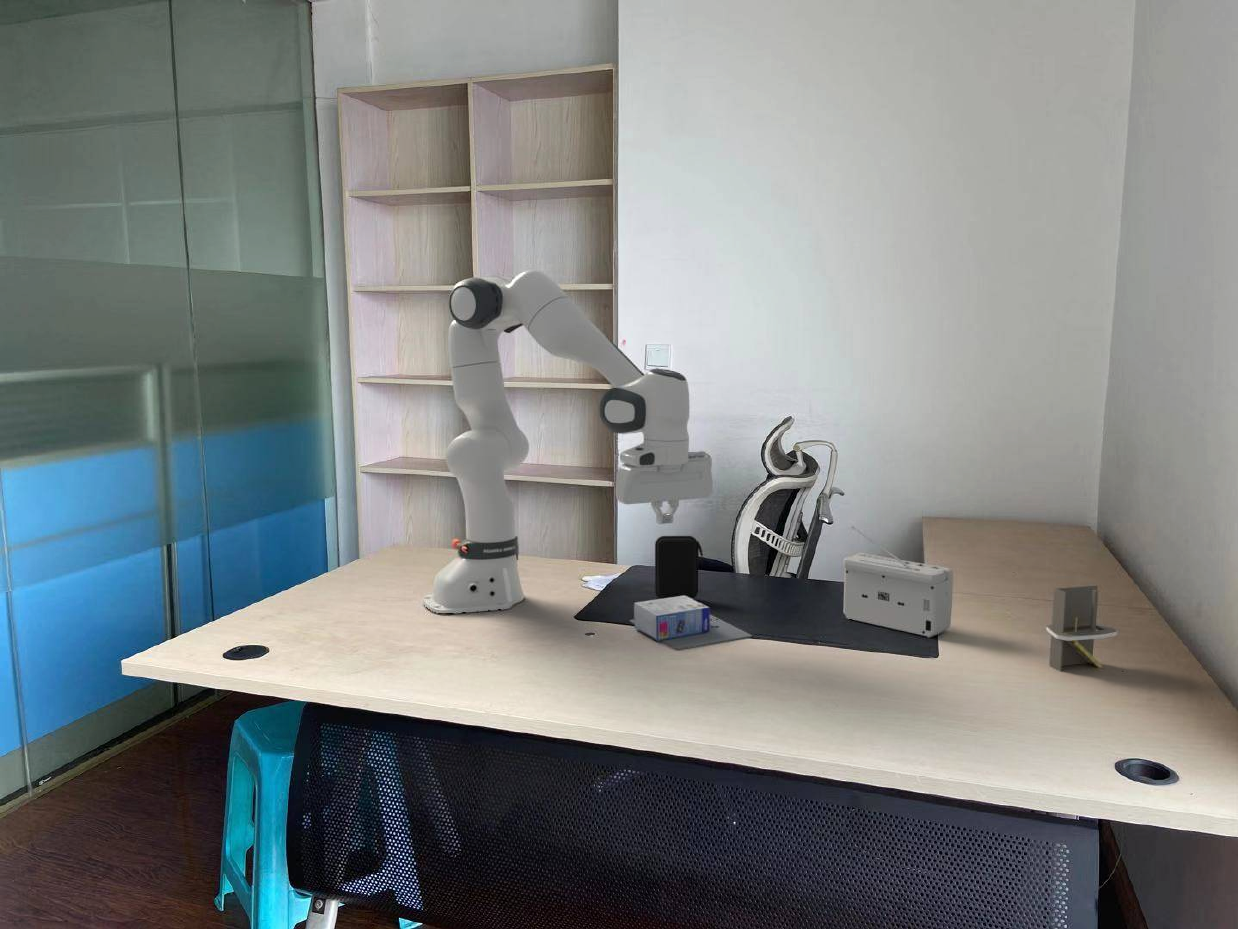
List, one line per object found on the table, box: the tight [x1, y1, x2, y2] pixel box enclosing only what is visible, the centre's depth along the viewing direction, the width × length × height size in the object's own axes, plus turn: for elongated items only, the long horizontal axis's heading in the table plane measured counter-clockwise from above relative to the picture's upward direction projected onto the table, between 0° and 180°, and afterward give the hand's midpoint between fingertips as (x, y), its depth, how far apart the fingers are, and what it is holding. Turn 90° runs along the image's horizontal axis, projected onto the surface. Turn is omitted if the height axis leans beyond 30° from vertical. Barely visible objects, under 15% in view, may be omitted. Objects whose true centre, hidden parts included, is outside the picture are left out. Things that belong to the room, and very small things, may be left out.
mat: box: [628, 614, 753, 651], centre depth 189 cm, size 17×20×1 cm
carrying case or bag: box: [654, 535, 704, 600], centre depth 209 cm, size 11×3×15 cm, turn 90°
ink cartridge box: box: [633, 596, 712, 641], centre depth 188 cm, size 10×6×14 cm
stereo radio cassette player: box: [842, 525, 954, 639], centre depth 190 cm, size 21×8×20 cm, turn 47°
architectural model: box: [1045, 584, 1118, 672], centre depth 166 cm, size 20×25×15 cm
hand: (664, 523), depth 184 cm, fingers closed
